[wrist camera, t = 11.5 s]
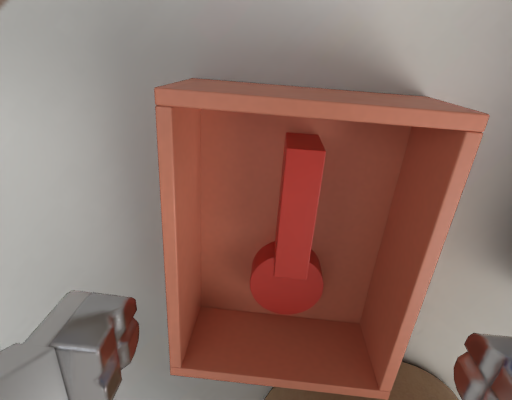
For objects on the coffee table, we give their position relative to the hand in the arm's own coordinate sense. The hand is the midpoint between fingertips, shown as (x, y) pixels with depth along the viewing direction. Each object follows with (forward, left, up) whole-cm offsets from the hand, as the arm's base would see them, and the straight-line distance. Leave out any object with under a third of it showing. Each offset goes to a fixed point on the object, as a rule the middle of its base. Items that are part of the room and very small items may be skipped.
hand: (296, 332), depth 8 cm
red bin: (+2, 0, -10) cm, 10 cm away
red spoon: (+2, 0, -10) cm, 10 cm away
